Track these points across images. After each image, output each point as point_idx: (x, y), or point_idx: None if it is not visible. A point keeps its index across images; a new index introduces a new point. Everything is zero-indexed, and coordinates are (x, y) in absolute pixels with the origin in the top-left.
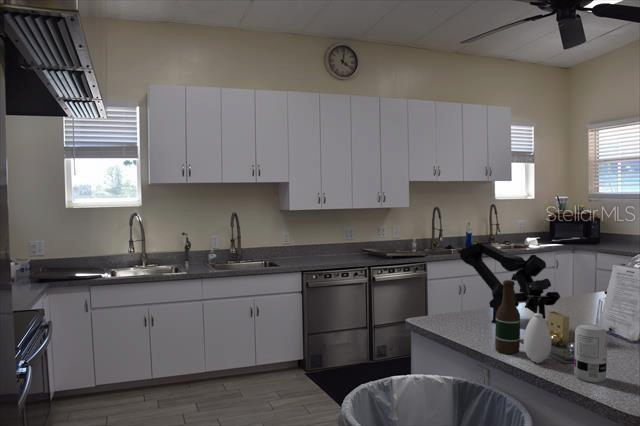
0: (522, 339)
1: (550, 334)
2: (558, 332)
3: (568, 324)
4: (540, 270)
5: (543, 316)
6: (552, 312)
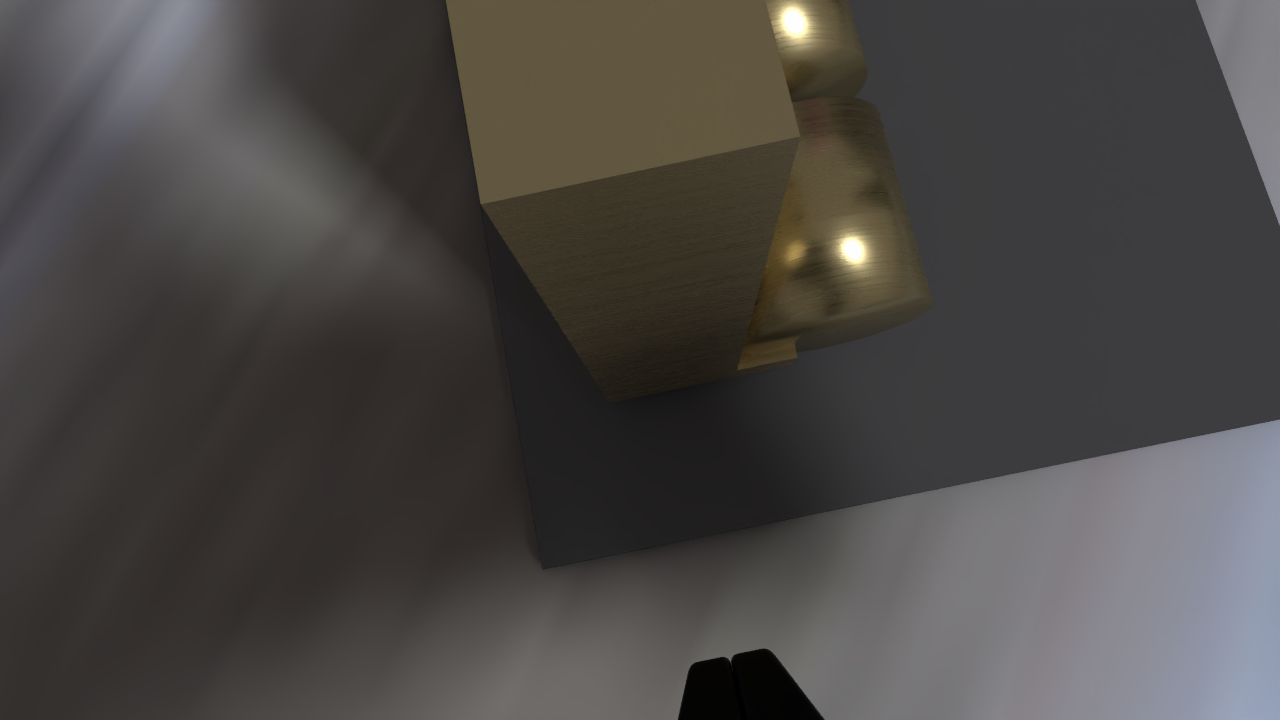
0: (1218, 417)
1: (821, 37)
2: None
3: None
4: None
5: (768, 673)
6: (662, 12)
